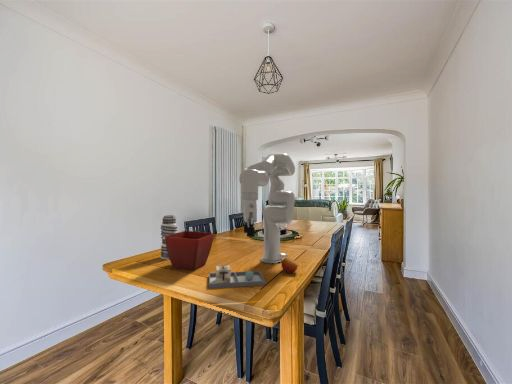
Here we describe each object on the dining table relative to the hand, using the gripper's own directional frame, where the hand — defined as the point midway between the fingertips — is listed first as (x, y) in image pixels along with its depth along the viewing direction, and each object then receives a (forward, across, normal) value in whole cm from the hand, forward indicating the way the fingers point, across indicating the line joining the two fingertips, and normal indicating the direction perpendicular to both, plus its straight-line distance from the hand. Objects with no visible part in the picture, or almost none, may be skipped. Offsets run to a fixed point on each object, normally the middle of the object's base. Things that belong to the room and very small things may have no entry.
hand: (248, 234), depth 105 cm
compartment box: (+21, 0, +5) cm, 22 cm away
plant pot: (+21, +24, +28) cm, 42 cm away
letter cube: (+21, 0, +11) cm, 23 cm away
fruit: (+21, +9, -23) cm, 32 cm away
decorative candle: (+21, +42, +42) cm, 63 cm away
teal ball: (+20, 0, -1) cm, 21 cm away
